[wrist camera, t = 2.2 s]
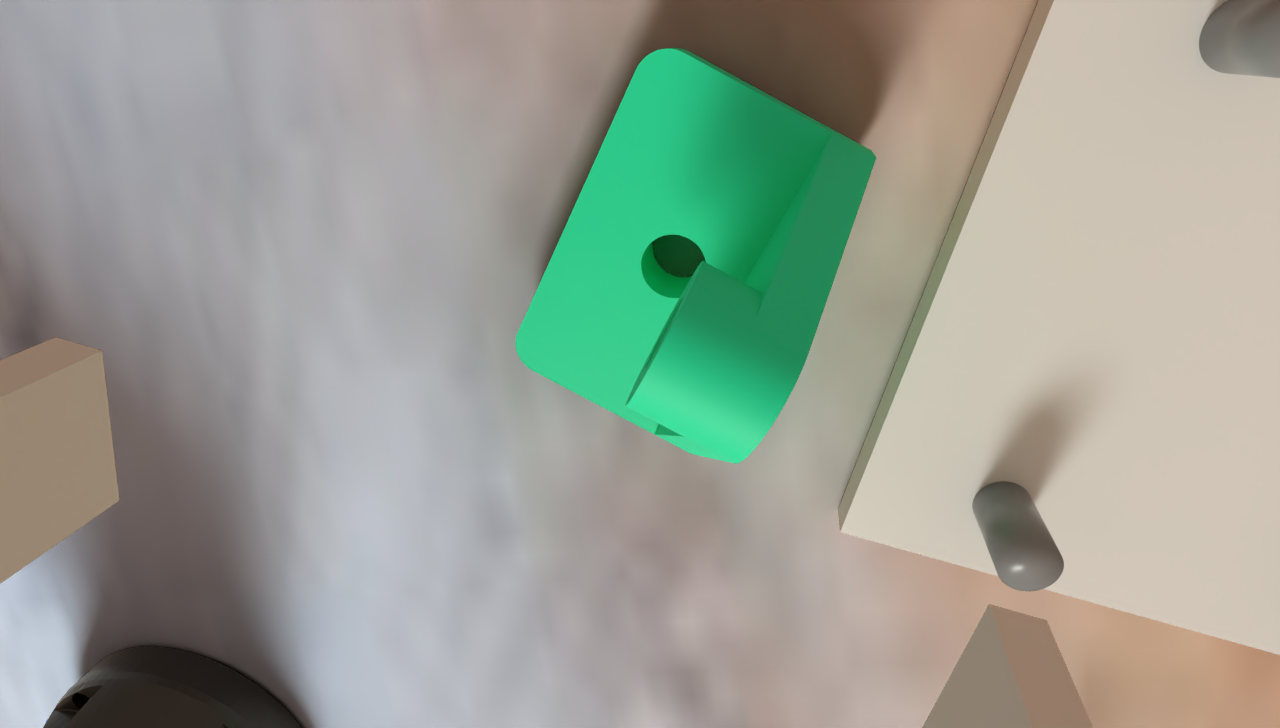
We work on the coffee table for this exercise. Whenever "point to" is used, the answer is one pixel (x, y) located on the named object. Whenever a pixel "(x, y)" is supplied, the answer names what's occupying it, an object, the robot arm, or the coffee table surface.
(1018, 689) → the robot arm
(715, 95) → the camera mount
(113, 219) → the coffee table surface
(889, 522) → the stub plate
